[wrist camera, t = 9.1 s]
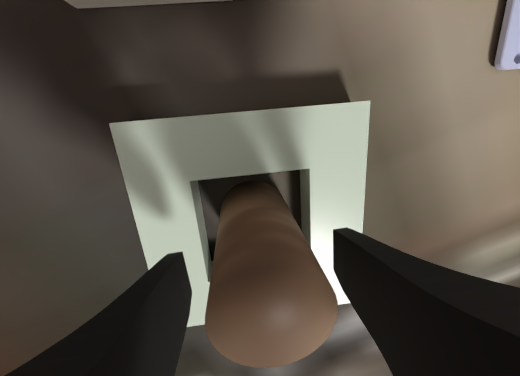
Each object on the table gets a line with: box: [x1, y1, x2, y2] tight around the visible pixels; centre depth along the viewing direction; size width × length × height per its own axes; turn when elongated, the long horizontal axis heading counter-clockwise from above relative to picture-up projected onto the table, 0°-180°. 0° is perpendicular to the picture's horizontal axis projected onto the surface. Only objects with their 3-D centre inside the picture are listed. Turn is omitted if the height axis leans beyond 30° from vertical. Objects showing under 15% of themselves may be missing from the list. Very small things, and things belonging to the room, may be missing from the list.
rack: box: [109, 101, 370, 327], centre depth 14 cm, size 12×12×2 cm
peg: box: [205, 181, 338, 368], centre depth 11 cm, size 4×4×8 cm
